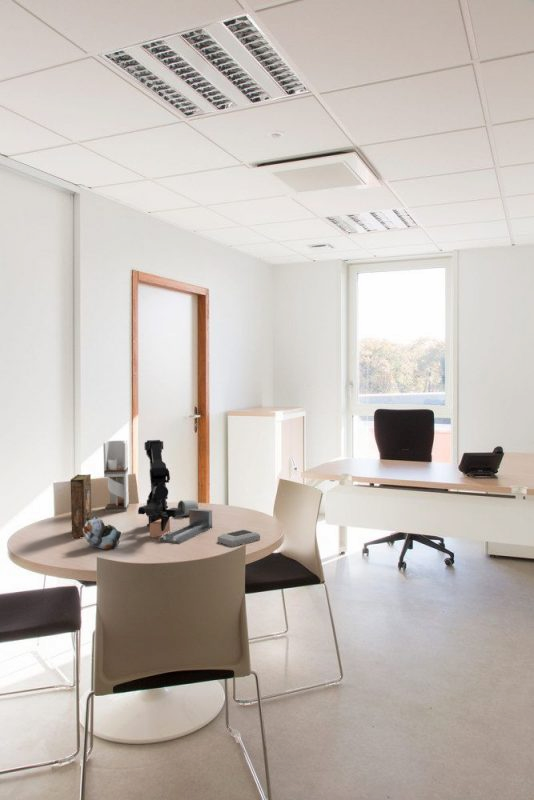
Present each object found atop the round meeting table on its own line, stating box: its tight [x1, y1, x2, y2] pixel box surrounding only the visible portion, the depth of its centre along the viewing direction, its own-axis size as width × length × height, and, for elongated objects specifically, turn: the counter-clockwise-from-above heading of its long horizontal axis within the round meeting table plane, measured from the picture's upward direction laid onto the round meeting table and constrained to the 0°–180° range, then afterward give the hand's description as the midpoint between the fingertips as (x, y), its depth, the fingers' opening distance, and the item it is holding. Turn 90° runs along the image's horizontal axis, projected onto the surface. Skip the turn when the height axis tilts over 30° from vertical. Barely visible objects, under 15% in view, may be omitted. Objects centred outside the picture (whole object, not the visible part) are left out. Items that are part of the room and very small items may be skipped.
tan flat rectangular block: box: [149, 517, 171, 538], centre depth 273 cm, size 2×12×6 cm, turn 157°
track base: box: [158, 508, 213, 544], centre depth 272 cm, size 10×28×8 cm, turn 157°
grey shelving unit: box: [102, 440, 130, 513], centre depth 324 cm, size 11×11×35 cm
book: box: [70, 473, 93, 539], centre depth 275 cm, size 16×6×25 cm, turn 5°
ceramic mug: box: [177, 499, 199, 517], centre depth 311 cm, size 11×8×8 cm
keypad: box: [217, 528, 261, 548], centre depth 260 cm, size 10×4×15 cm
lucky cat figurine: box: [83, 516, 122, 551], centre depth 254 cm, size 15×12×14 cm
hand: (159, 530), depth 273 cm, fingers closed on tan flat rectangular block, 2 cm apart
